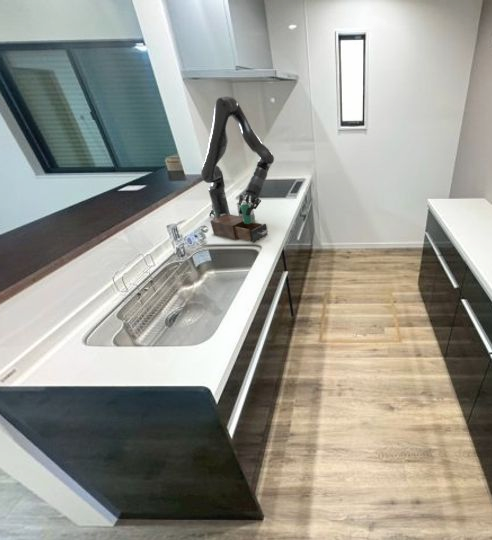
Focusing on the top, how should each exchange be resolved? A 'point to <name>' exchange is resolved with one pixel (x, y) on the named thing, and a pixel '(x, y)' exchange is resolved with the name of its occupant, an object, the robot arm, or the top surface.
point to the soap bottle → (244, 208)
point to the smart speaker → (251, 213)
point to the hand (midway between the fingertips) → (243, 214)
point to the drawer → (251, 231)
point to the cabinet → (226, 225)
